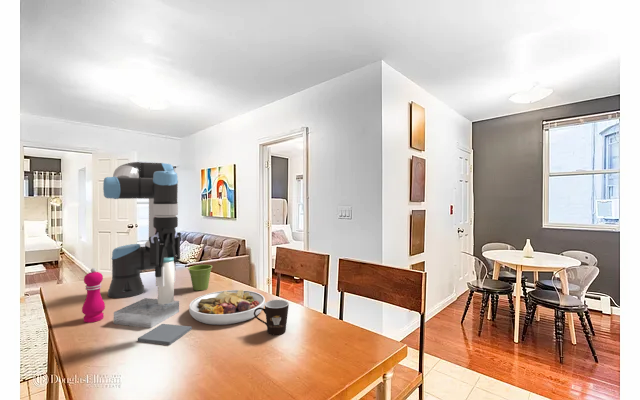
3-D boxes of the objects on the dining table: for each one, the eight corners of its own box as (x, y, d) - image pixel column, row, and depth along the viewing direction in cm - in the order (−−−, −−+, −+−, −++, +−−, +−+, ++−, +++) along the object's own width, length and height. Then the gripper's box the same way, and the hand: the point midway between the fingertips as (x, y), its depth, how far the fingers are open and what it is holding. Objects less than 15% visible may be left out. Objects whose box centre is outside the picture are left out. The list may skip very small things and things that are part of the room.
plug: (164, 298, 111) (164, 256, 111) (176, 299, 110) (176, 257, 110) (154, 303, 106) (154, 259, 106) (167, 304, 105) (167, 260, 105)
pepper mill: (93, 324, 117) (92, 270, 117) (77, 322, 119) (76, 269, 118) (109, 316, 124) (109, 266, 124) (94, 315, 126) (94, 265, 125)
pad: (162, 326, 116) (162, 323, 116) (191, 329, 113) (191, 326, 113) (137, 341, 104) (137, 338, 104) (169, 344, 102) (169, 341, 102)
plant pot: (195, 285, 168) (195, 264, 168) (216, 286, 166) (216, 265, 166) (182, 291, 156) (183, 269, 156) (205, 293, 154) (205, 270, 154)
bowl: (176, 313, 129) (176, 294, 129) (239, 296, 151) (239, 279, 151) (212, 336, 109) (212, 313, 109) (279, 312, 131) (279, 293, 131)
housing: (145, 308, 133) (145, 298, 133) (179, 311, 130) (179, 300, 130) (113, 324, 117) (113, 312, 117) (151, 327, 114) (151, 315, 114)
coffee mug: (292, 328, 115) (292, 301, 115) (282, 338, 107) (282, 309, 107) (264, 323, 119) (264, 297, 119) (252, 333, 111) (252, 305, 110)
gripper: (172, 214, 117) (173, 276, 118) (136, 217, 100) (136, 290, 100) (191, 214, 116) (191, 277, 116) (156, 218, 98) (157, 292, 99)
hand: (165, 283), depth 108 cm, fingers closed on plug, 5 cm apart
